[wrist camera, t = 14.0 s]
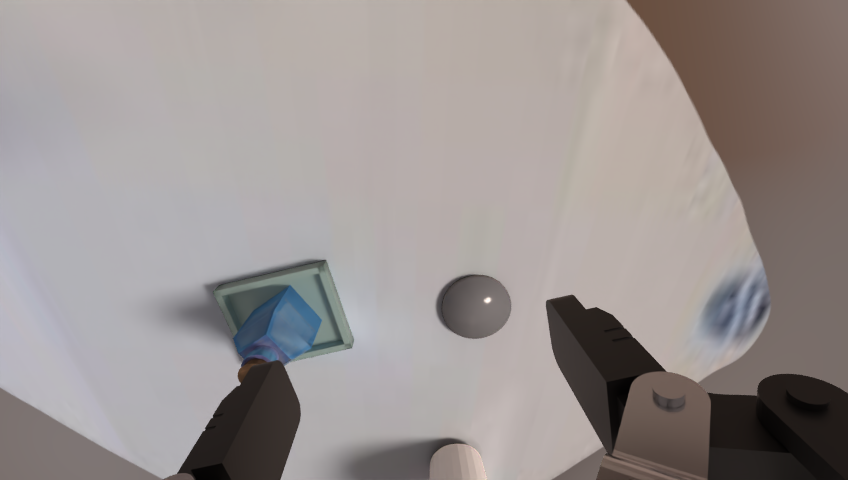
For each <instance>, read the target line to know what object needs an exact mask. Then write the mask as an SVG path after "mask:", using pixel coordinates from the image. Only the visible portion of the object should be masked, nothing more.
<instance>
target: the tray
mask: <svg viewBox="0 0 848 480" xmlns="http://www.w3.org/2000/svg"><path fill="white" fill-rule="evenodd" d="M290 285H291V286H292V287H293V289H294V290H295V291H296V292H297V293H298V294H299V295H300V296H301V297H302V298H303V299H304V301H305V302H306V303H307V304H308V305H309V306H310V307H311V308H312V309H313V310H314V312H315V313H316V314H317V315H318V316H319V317H320V318H321V319H322V322H321V325H320V327H319V330H318V332H317V335H316V337H315V340H314V343H313V345H312V348H311V349H309V350H308V351H306V352H305V353H303V354H302V355H300V356H299V357H297V358H296V359H294V360H292V361H297V360H301V359H306V358H310V357H314V356H319V355H323V354H328V353H332V352H337V351H341V350H346V349H350V348H352V347H353V342H354V339H353V336H352V333H351V330H350V327H349V324H348V322H347V319H346V316H345V313H344V310H343V307H342V304H341V301H340V298H339V296H338V293H337V290H336V287H335V284H334V281H333V278H332V275H331V272H330V270H329V267H328V264H327V261H326V260H325V261H321V262H317V263H312V264H308V265H304V266H300V267H295V268H291V269H287V270H283V271H278V272H274V273H270V274H266V275H261V276H257V277H253V278H248V279H244V280H240V281H236V282H231V283H227V284H223V285H219V286H218V287H217V288H216V289H215V290H214V291H213V293H214V296H215V298H216V300H217V302H218V304H219V306H220V308H221V311H222V313H223V315H224V317H225V319H226V321H227V323H228V326H229V328H230V330H231V332H232V334H233V336H235V335H236V334H237V332H238V331H239V329H240V328H241V327H242V325H243V324H244V323H245V321H246V320H247V319H248V317H249V316H250V314H251V313H252V312H253V311H254V310H255V309H256V308H258V307H259V306H261V305H262V304H264V303H265V302H267V301H268V300H269V299H271V298H272V297H274V296H275V295H277V294H278V293H280V292H281V291H283V290H284V289H285V288H287V287H288V286H290ZM292 361H291V362H292Z"/></svg>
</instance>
